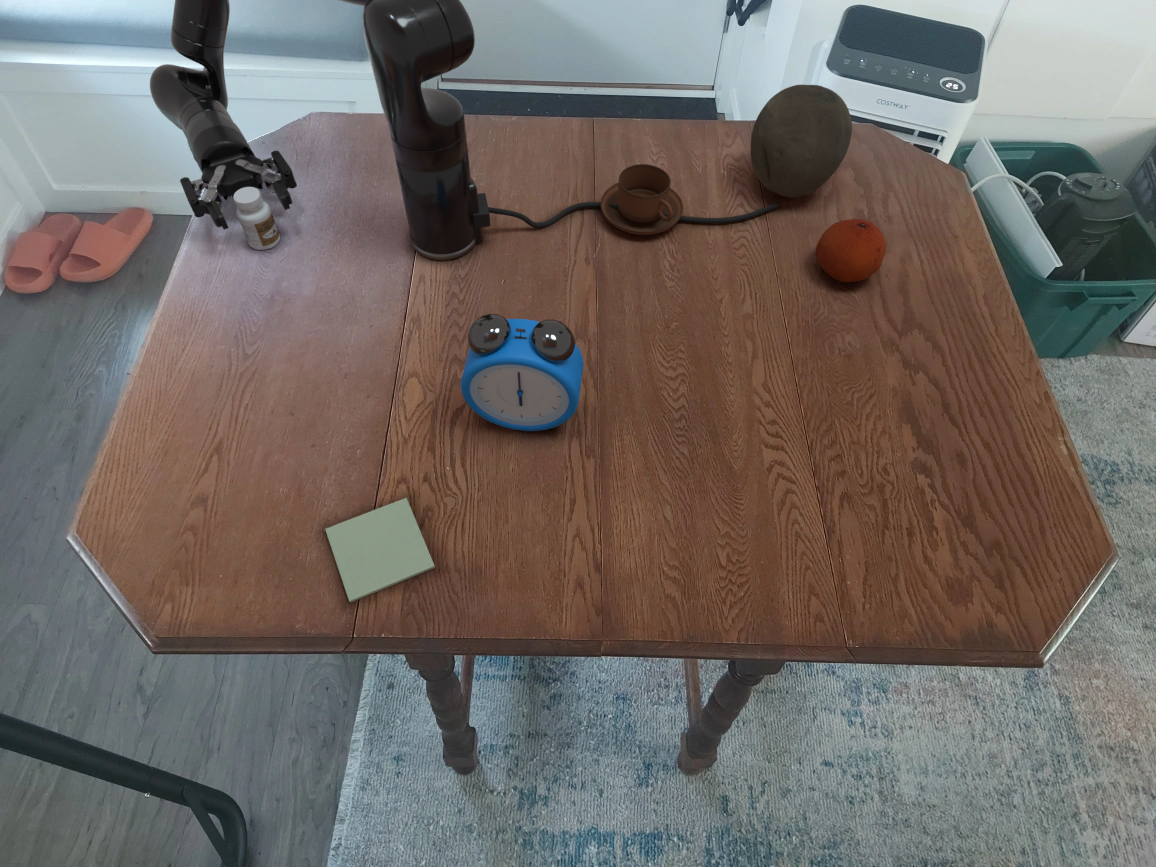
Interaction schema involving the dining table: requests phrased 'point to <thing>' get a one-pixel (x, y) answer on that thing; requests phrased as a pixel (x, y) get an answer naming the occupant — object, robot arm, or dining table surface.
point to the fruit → (851, 250)
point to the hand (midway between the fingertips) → (255, 213)
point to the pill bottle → (256, 219)
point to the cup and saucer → (642, 201)
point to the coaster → (379, 549)
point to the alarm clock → (522, 372)
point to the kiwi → (800, 139)
